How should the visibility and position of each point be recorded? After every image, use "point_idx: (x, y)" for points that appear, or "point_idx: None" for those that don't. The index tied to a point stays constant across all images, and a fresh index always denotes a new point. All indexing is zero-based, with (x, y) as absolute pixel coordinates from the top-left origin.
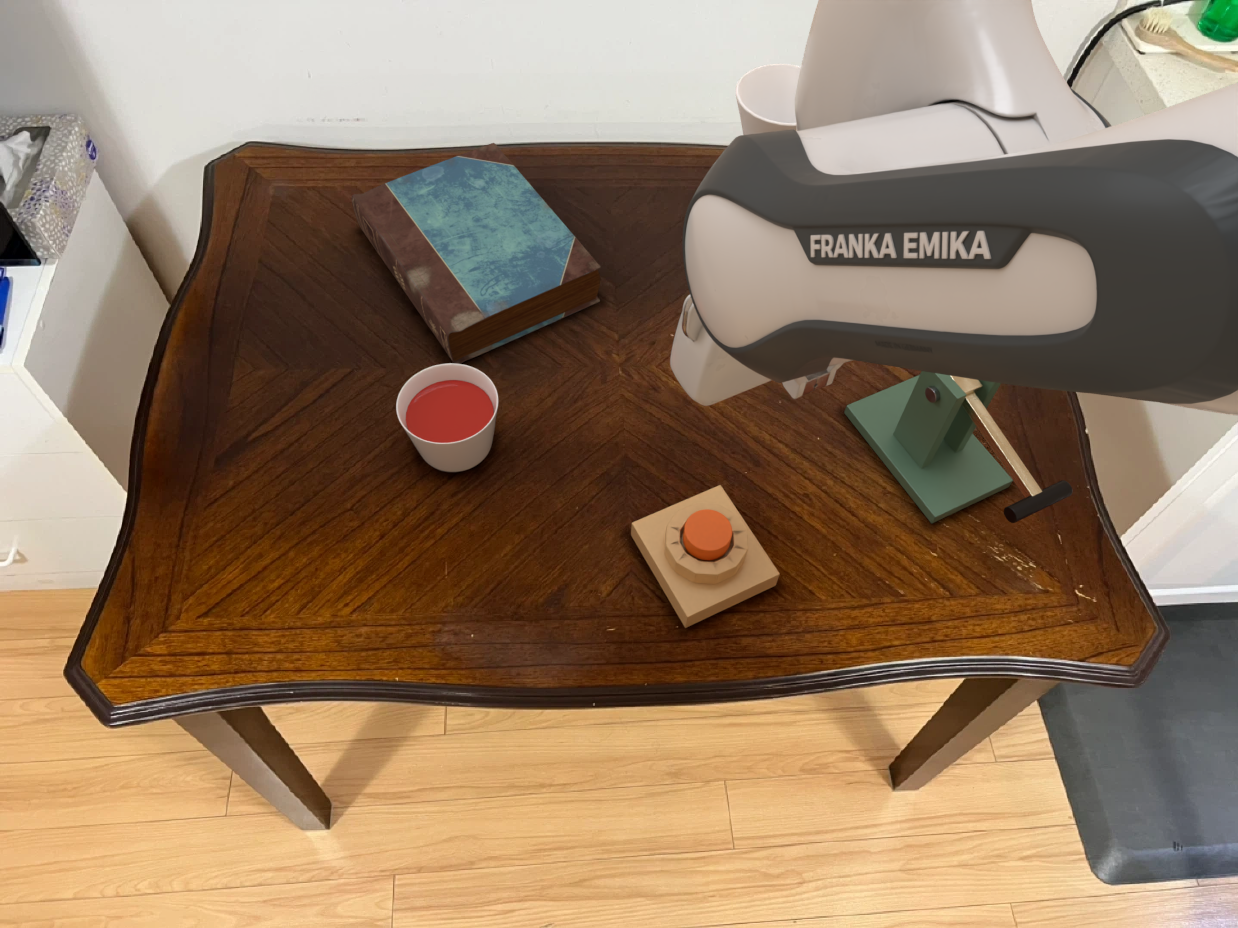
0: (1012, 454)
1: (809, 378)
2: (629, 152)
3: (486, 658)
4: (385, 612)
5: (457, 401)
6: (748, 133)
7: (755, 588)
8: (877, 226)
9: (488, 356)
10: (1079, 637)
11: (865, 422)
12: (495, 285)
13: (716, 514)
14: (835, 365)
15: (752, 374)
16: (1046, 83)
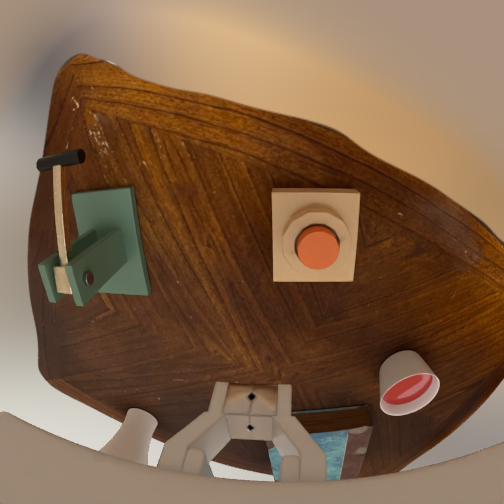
0: (56, 203)
1: (265, 417)
2: None
3: (467, 234)
4: (487, 285)
5: (398, 392)
6: (145, 461)
7: (295, 190)
8: None
9: (348, 404)
10: (94, 75)
11: (141, 278)
12: (330, 441)
13: (304, 260)
14: (212, 425)
15: (468, 501)
16: None
